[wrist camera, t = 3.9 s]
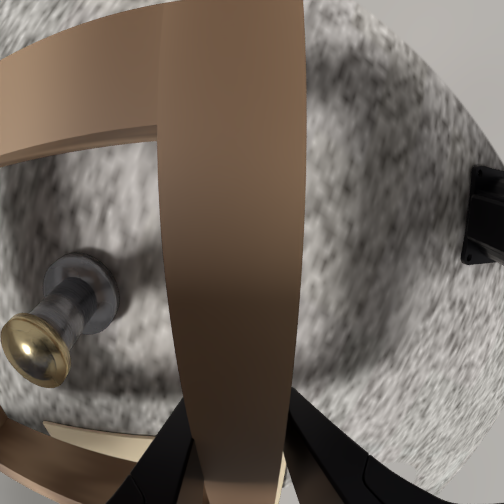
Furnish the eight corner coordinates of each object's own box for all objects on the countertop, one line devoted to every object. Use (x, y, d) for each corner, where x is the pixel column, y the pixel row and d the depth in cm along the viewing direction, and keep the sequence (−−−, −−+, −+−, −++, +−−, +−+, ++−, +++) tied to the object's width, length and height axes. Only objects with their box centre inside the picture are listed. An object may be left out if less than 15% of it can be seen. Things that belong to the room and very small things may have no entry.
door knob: (112, 251, 14) (59, 308, 8) (125, 327, 15) (93, 404, 10) (42, 254, 13) (-23, 302, 8) (60, 325, 15) (14, 390, 9)
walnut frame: (284, 62, 6) (302, -3, 3) (266, 491, 12) (266, 545, 9) (-83, 157, 7) (-128, 168, 3) (3, 428, 12) (-18, 459, 9)
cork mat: (290, 431, 19) (291, 434, 19) (274, 517, 25) (275, 519, 25) (43, 420, 17) (42, 422, 17) (115, 513, 23) (115, 515, 23)
